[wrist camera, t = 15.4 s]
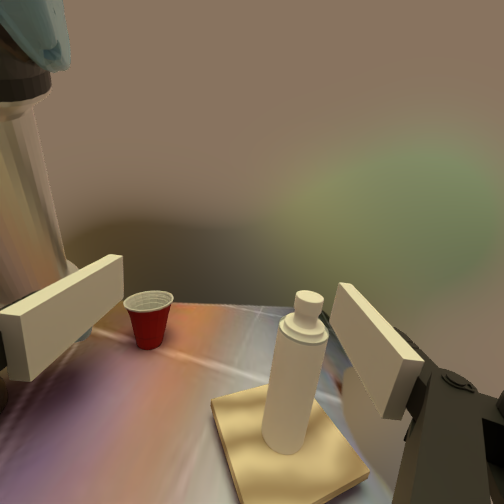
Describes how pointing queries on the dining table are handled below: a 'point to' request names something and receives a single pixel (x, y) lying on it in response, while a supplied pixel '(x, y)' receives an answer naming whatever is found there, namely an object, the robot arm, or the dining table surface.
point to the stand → (283, 455)
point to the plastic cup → (149, 316)
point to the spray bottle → (294, 374)
